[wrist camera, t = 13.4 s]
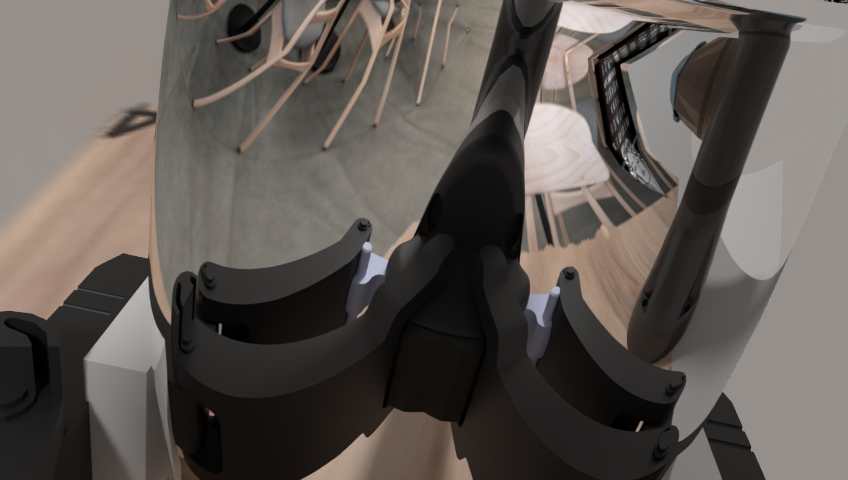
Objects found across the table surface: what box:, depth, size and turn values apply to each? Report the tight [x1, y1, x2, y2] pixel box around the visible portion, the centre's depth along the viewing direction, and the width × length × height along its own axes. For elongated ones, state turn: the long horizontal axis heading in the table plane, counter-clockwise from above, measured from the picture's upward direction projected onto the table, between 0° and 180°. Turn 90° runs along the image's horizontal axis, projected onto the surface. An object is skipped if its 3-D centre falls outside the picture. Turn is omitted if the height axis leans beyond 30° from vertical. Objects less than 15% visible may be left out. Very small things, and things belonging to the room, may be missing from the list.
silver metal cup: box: [148, 0, 848, 480], centre depth 10 cm, size 7×7×15 cm
